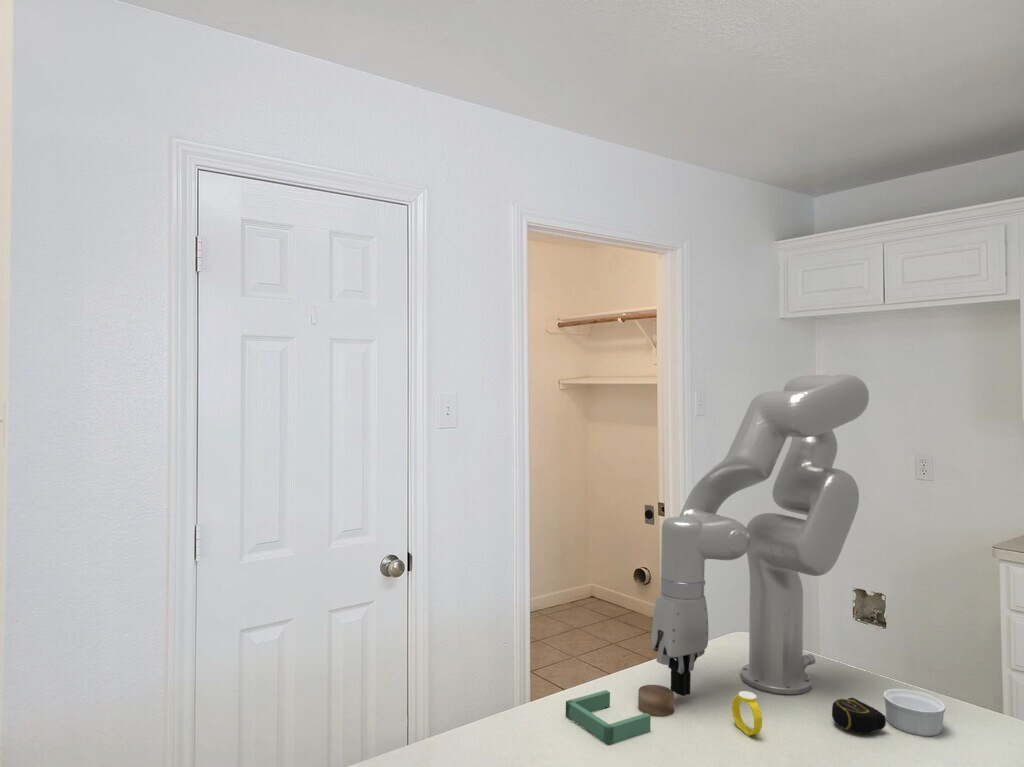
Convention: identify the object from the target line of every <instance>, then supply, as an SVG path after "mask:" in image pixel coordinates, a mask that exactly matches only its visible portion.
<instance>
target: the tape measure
mask: <svg viewBox="0 0 1024 767" xmlns="http://www.w3.org/2000/svg"><path fill="white" fill-rule="evenodd" d="M831 716H832V720H833V722H834V723H835V724H836V725H838V726H839V727H840V728H842V729H845V730H847V731H849V732H851V733H857V734H865V735H868V734H872V733H874V732H877V731H880V730H883V729H884V728H885V727H886V724H887V718H886V715H885V714H883V713H882V712H881V711H879V710H878V709H875V708H874V707H873V706H870V705H868V704H867V703H864V702H863V701H860V700H858V699H857V698H854V697H849V698H838V699H836V700H835V701H834V702H833V704H832V709H831Z"/></svg>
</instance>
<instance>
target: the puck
mask: <svg viewBox="0 0 1024 767" xmlns="http://www.w3.org/2000/svg"><path fill="white" fill-rule="evenodd" d="M637 694H638V696H637V697H638V700H637V702H638V703H637V705H638V706H637V708H638V710H639V711H640V712H641V713H642V714H644V713H647V714H649V715H651V717H655V718H656V717H657V718H665V717H668V716H671V715H673V714H674V712H675V692H673V691H672V690H671V688H670V687H666V686H665V685H660V684H644V685H642V686H640V687H639V688H638V693H637Z"/></svg>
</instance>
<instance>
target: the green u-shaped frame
mask: <svg viewBox="0 0 1024 767" xmlns="http://www.w3.org/2000/svg"><path fill="white" fill-rule="evenodd" d="M609 706H610V707H611V692H610V690H607V689H605V690H601V691H599V692H594V693H590V694H587V695H583V696H581V697H580V696H579V697H576V698H573V699H568V700H565V717H566V716H567V717H566V718H568V717H569V718H570V719H571V720H570V719H569V718H568V719H569V720H570V721H572V720H573V721H575V722H576V723H578V724H579V725H580V726H579V725H578V724H577V725H578V726H579V727H581V726H582V727H584V728H585V729H586V731H587V732H588V731H589V732H588V733H590V732H591V733H592V734H591V733H590V734H591V735H593V736H594V735H595V737H596V738H597V739H599V740H600V741H602V742H603V743H604V744H606V745H608V746H609V745H613V744H615V743H619V742H622V741H624V740H627V739H630V738H634V737H637V736H639V735H643V734H645V733H649V732H651V723H652V722H651V717H652V716H651V715H649V714H647V713H642V714H638V715H634V716H632V717H628V718H626V719H621V720H620V721H616V722H612V723H608V722H606V720H603V719H601V718H600V717H599V716H597V715H595V714H593V712H592V711H594V712H596V711H595V710H597V711H600V710H603V709H602V708H604V709H606V708H605V707H607V708H609ZM599 709H600V710H599ZM573 721H572V722H573ZM575 722H574V723H575ZM576 723H575V724H576ZM582 727H581V728H582ZM584 728H583V729H584ZM585 729H584V730H585Z"/></svg>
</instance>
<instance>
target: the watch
mask: <svg viewBox="0 0 1024 767" xmlns="http://www.w3.org/2000/svg"><path fill="white" fill-rule="evenodd" d="M757 699H758V698H757V695H756V694H755V693H753V692H752V691H746V690H741V691H739V692H738V694H736V695H735V696H734V697H733V699H732V703H731V712H732V717H733V720H734V724H735V725H736V728H738V729H739V730H741V731H742V732H743V733H744V734H745V735H747V736H748V737H749V736H750V737H751V736H756V735H758V734H760V732H761V730H762V727H763V718H762V717H763V716H762V713H761V712H762V711H761V708H760V705H759V704H758V703H757ZM741 702H743V703H747V704H748V705H749V708H750V710H751V712H752V717H753V728H752V729H751V728H750V727H748V726H747V724H745V722H744V720H743V718H742V713H741V709H740V707H741Z"/></svg>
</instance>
